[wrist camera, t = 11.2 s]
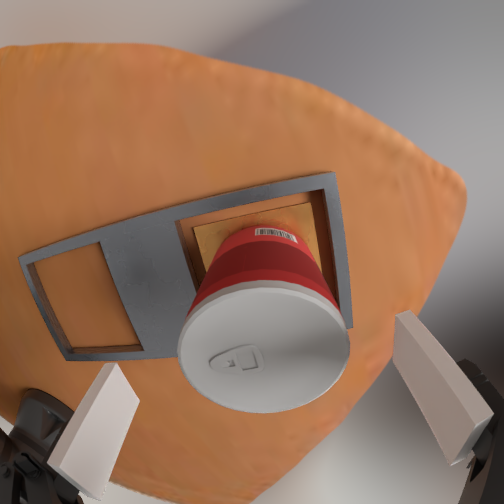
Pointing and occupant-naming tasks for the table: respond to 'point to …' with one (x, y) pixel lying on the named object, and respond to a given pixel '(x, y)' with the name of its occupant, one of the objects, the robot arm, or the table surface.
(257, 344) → the canned food
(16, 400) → the table surface
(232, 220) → the rail frame
